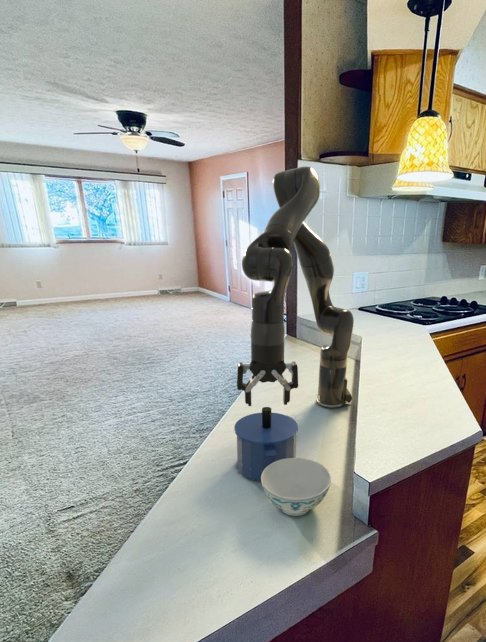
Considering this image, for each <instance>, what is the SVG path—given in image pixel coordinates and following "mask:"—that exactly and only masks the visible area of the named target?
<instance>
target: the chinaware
mask: <svg viewBox="0 0 486 642" xmlns="http://www.w3.org/2000/svg"><path fill="white" fill-rule="evenodd" d="M260 482H261V486H262V489H263V492H264V494H265V496H266V498H267V499H268V501H269V502H270V503H271V504H272V506H273V507H275V508H277V509H279V510H281V511H282V512H283V513H284V514H286V515H288V516H293V517H298V516H303V515H305V514H306V513H307V512H309V511H311V510H313V509H315V508H316V507H317V506H319V504H321V503H322V501H323V500H324V499H325V498H326V496H327V494H328V492H329V489H330V486H331V483H332V476H331V474H330V471H329V469H327V468H326V467H325V466H324V465H323V464H321V463H319V462H317V461H315V460H313V459H307V458H303V457H296V458H287V459H282V460H278V461H276V462H273V463H271V464H270V465H268V466H267V467H266V468H265V469H264V471H263V472H262V475H261V481H260Z"/></svg>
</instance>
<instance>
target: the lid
mask: <svg viewBox="0 0 486 642" xmlns="http://www.w3.org/2000/svg"><path fill="white" fill-rule="evenodd" d="M233 430H234V431H233V432H234V434H235V435H236V437H237V436H238V437H239V438H241V439H242V440H244V441H247V442H250V443H255V444H276V443H281V442H284V441H287V440H289V439H291V438H293V437H294V436H295V435H296V434H297V435H298V432H299V425H298V422H297V421H296V420H295V419H294V418H293V417H291V416H289V415H286V414H283V413H279V412H272V407H270V406H264V407H262V408H261V412H255V413H251V414H247V415H245V416H242V417H241V418H240V419H239V418H238V420H237V421H236V422H235V423H234V427H233Z"/></svg>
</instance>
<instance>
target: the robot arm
mask: <svg viewBox="0 0 486 642" xmlns="http://www.w3.org/2000/svg"><path fill="white" fill-rule="evenodd" d="M320 185H321V184H320V180H319V176H318V174H317V172H316V171H315V169H314V168H313V167H311V166H299V167H295V168H291V169H287V170H282V171H278V172H277V173H275V174H274V176H273V179H272V186H273V192H274V197H275V199H276V202H277V205H278V207H279V208H278V209H277V210H276V211H275V212H274V213H273V214H271V216H270V218H269V219H268V221H267V223H266V226H265V227H264V229H263V232H262V233H261V234H260V235H258V236H257V237H256V238H255V239H254V240H253V241H252V242H251V243H250V244H249V245H248V246H247V247H246V249H245V251H244V252H243V255H242V258H241V268H242V271H243V274H244V275H245V277H246V278H248V279H249V280H251V281H257V282H269V283H273V287H272V288H271V289H270V290H265V291H259V292H256V293H254V294H253V295H252V297H251V326H250V354H251V355H250V358H251V359H250V363H249V364H248V363H246V364H245V363H243V362H237V373H236V375H237V376H236V389H237V390H238V391H243V392H244V402H245V404H246V405H247V407H252V389H254V387H255V386H257V384H258V383H259V382H260V383H264V384H265V383H268V382H269V383H276V382H277V381H278V383H279V384H280V385H281V386H282V387H283V389H282V391H283V393H282V394H283V395H282V396H283V397H282V402H283V405H284V406H287V405H288V403H290V402H291V390H292V389H298V388H299V367H298V366H299V365H298V364H297V362H296V361H291V362H288V363H286V362H285V333H286V332H285V331H286V330H285V323H284V322H285V320H284V319H285V318H284V317H285V298H286V294H287V289H288V285H289V282H290V279H291V276H292V272H293V269H294V259H293V256H292V253H291V250H292V248H293V246H294V249H295V251H296V255H297V258H298V262H299V265H300V269H301V271H302V275H303V278H304V280H305V283H306V286H307V289H308V292H309V297H310V300H311V304H312V309H313V314H314V320H315V323H316V326H317V328H318V330H319V331H320V332H321V333H322V334H325V335H328V336H331V337H332V340H331V343H326V344H323V345H322V346H321V347H320V350H319V367H318V384H317V387H318V388H317V394H316V397H317V399H316V403H317V404H318V405H319V406H320V407H324V408H329V409H337V408H341V407H342V406H343V407H344V406H346V403H348V404H350V403H351V402H352V400H353V396H352V394H351V392H350V391H349V390H348V379H347V368H348V356H349V351H350V349H351V346H352V338H353V332H354V321H355V320H354V315H353V313H352V312H351V310H349V309H346V308H341V307H337V306H334V304H333V303H332V300H331V296H330V287H331V285H332V281H333V278H334V275H335V274H334V273H335V266H334V262H333V259H332V255H331V252H330V249H329V246H328V245H327V243H325V241H324V240H323V239H322V238H321V237H320V236H319V235H318V234H316V233H315V231H313V230H312V228H310V226H308V225H307V223H306V222H305V220H306V219H307V218H308V216H309V215H310V213H311V212H312V210H313V209H314V207H315V206H316V205H317V203H318V201H319V199H320V194H321V187H320ZM248 370H249V372H250V373H251V374H252V375H251V376H250V377H249V379H248V380H247V382H246V383H244V381H243V380H244V375H246V374H247V372H248ZM286 370H288V372H289V373H291V381H289V382H288V380H287V379H286V378H285V376H284V375H283V374H284V372H285V371H286Z"/></svg>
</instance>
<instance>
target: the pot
mask: <svg viewBox="0 0 486 642" xmlns="http://www.w3.org/2000/svg"><path fill="white" fill-rule="evenodd" d="M297 436H298V433H297V434H296V435H295V436H294V437H293V438H291V439H289V440H287V441H284V442H281V443H276V444H255V443H250V442H247V441H244V440H242V439H241V438H239V437H238V436H237V435H236V457H237V469H238V472H239V473H240V474H241V475H242V476H243V477H245V478H247V479H249V480H252V481H256V482H261V475H262V472H263V471H264V469H265V468H266V467H267V466H268V465H270V464H271V463H273V462H276V461H278V460H282V459H287V458H297V438H298V437H297Z"/></svg>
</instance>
